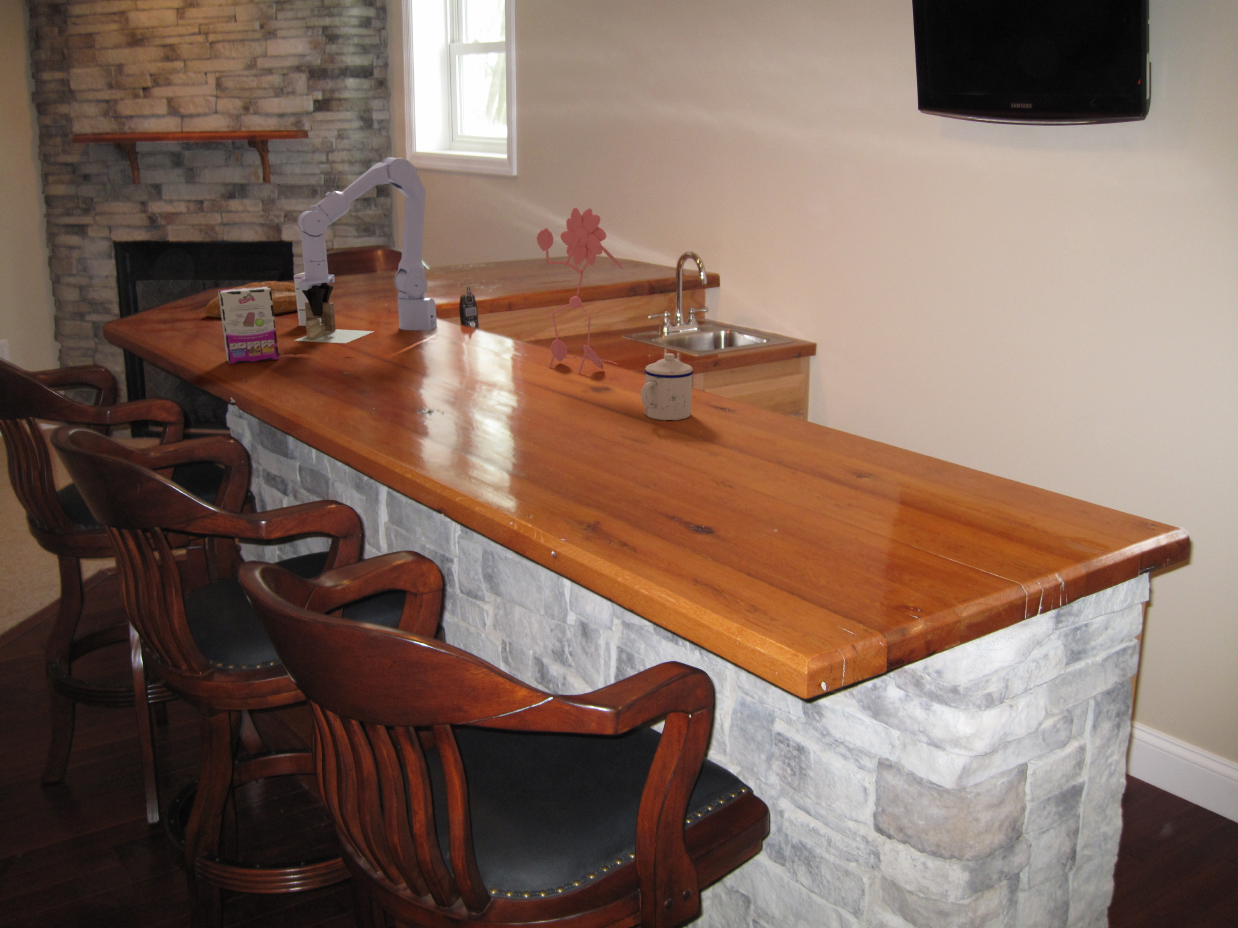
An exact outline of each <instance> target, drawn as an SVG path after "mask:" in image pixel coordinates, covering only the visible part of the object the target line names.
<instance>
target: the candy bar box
mask: <svg viewBox="0 0 1238 928" xmlns="http://www.w3.org/2000/svg"><path fill="white" fill-rule="evenodd" d="M217 292H218V293H217V296H218V295H219V302H220V310H221V318H220V319H221V323H222V325H221V326H222V332H223V338H224V339H223V340H224V349H225V355H226V361H227V362H228V364H230V365H235V364H244V363H254V362H255V363H256V362H265V361H275V360H279V359H280V358H279V357H280V355H279V346H278V338H277V330H276V329H277V328H276V320H275V319H276V318H275V315H274V310H273V302H272V292H271V289H270V288H269V287H255V288H241V289H233V288H230V289H218V290H217Z"/></svg>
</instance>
